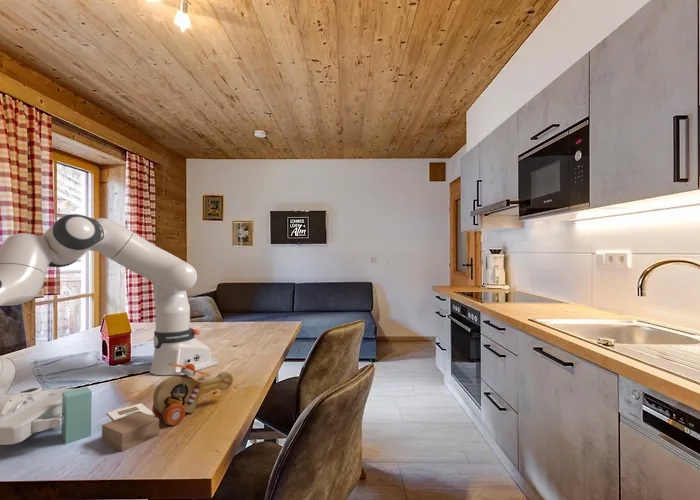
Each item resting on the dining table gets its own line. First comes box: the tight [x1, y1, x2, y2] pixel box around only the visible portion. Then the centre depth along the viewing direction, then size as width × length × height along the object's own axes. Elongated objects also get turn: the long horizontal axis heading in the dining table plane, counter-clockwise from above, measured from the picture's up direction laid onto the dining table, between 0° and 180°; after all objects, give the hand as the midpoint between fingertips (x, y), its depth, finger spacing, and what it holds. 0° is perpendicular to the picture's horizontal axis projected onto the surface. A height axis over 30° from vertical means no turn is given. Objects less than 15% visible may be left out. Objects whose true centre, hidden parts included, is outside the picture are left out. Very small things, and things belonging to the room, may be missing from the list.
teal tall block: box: [61, 386, 93, 445], centre depth 80 cm, size 4×4×10 cm
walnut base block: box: [101, 411, 160, 453], centre depth 79 cm, size 8×8×4 cm
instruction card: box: [106, 402, 156, 421], centre depth 91 cm, size 8×11×1 cm
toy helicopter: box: [151, 363, 234, 426], centre depth 93 cm, size 8×21×14 cm, turn 140°
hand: (76, 411), depth 80 cm, fingers open, 8 cm apart
